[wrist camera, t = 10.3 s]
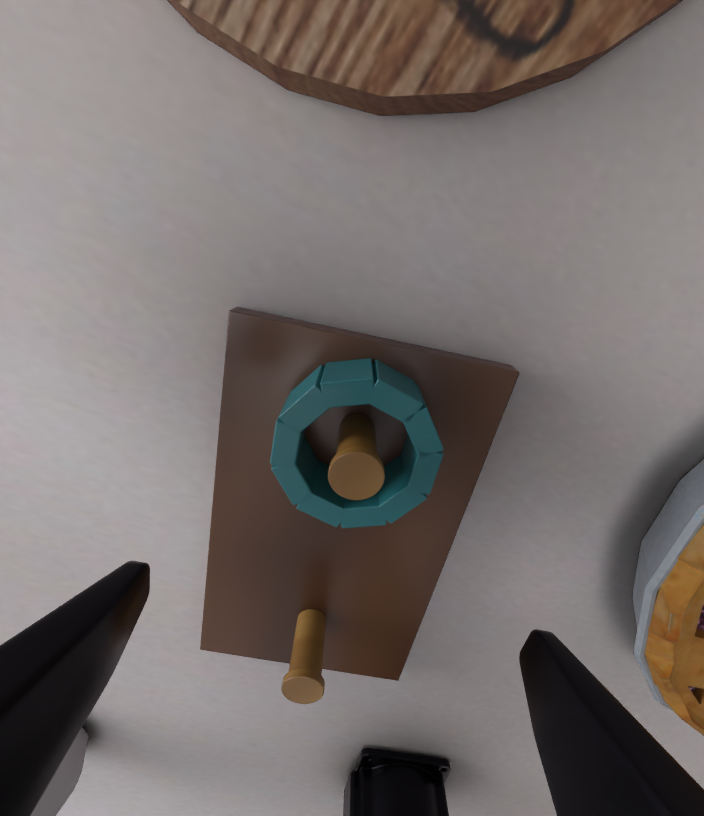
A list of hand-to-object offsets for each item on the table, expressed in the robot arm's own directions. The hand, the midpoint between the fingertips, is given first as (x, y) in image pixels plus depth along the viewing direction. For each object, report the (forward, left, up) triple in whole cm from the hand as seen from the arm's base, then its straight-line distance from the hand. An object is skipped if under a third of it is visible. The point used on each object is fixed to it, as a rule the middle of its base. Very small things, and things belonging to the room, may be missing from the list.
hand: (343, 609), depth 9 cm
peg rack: (0, +6, -10) cm, 12 cm away
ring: (0, 0, -9) cm, 9 cm away
